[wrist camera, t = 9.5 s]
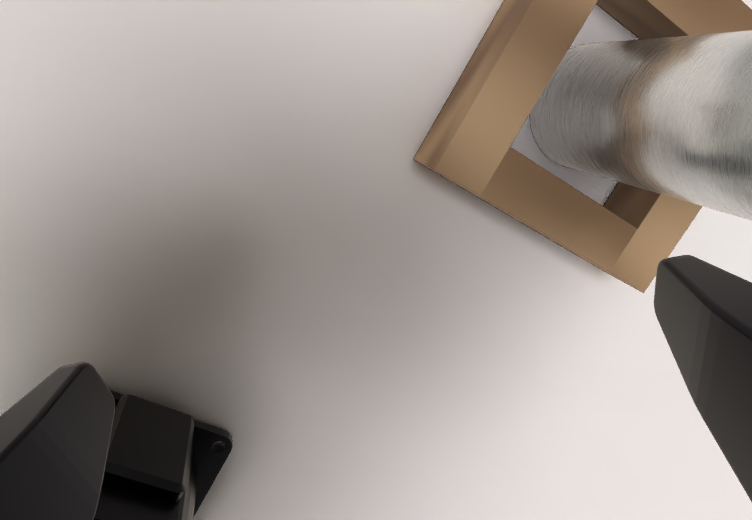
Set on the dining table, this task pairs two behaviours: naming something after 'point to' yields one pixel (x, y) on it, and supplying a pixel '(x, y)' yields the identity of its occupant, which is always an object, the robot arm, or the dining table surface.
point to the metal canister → (656, 116)
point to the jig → (515, 102)
